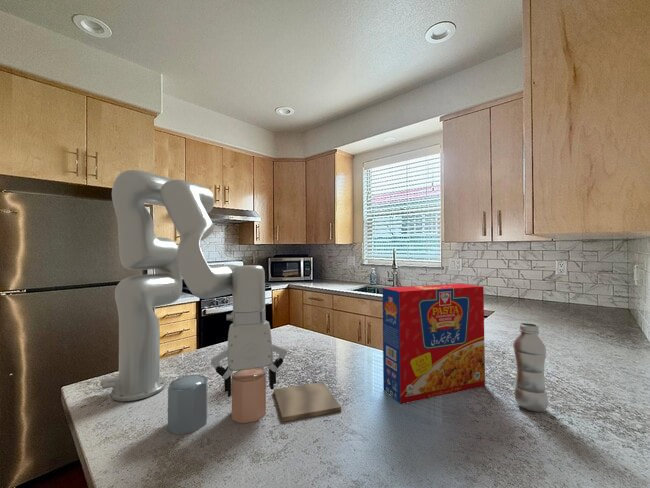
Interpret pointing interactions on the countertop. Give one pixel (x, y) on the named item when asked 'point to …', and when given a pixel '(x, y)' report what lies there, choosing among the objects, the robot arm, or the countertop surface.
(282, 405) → the brown curved panel
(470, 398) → the countertop surface
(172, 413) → the grey octagonal canister
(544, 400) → the plastic bottle
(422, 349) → the pasta box
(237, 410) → the salmon tapered prism
